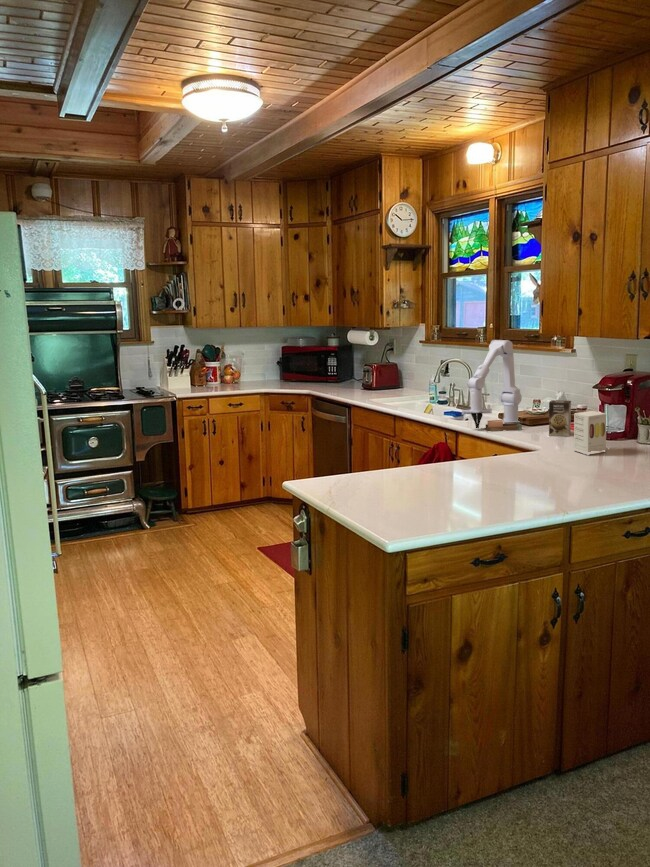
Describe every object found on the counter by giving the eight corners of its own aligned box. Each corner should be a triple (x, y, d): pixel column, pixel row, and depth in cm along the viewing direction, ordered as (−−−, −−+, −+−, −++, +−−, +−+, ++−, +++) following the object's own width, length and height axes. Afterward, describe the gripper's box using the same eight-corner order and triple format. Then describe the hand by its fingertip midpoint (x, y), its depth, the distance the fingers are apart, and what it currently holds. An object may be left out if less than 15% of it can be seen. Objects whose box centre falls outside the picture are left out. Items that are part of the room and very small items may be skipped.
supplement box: (587, 456, 289) (587, 416, 286) (573, 451, 298) (573, 413, 294) (606, 452, 292) (607, 413, 289) (591, 448, 301) (591, 410, 297)
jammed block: (487, 429, 353) (487, 420, 352) (501, 428, 352) (501, 419, 351) (488, 431, 349) (488, 422, 348) (503, 430, 348) (502, 421, 347)
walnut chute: (485, 428, 355) (485, 423, 354) (519, 426, 352) (519, 421, 352) (487, 431, 347) (486, 426, 347) (521, 430, 345) (521, 424, 344)
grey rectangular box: (548, 436, 328) (548, 402, 325) (551, 433, 334) (550, 399, 330) (569, 436, 324) (568, 402, 320) (571, 433, 329) (571, 400, 326)
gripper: (462, 403, 346) (463, 430, 349) (492, 401, 344) (492, 428, 346) (461, 401, 353) (462, 427, 355) (490, 399, 350) (491, 425, 353)
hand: (477, 427), depth 351 cm, fingers closed
